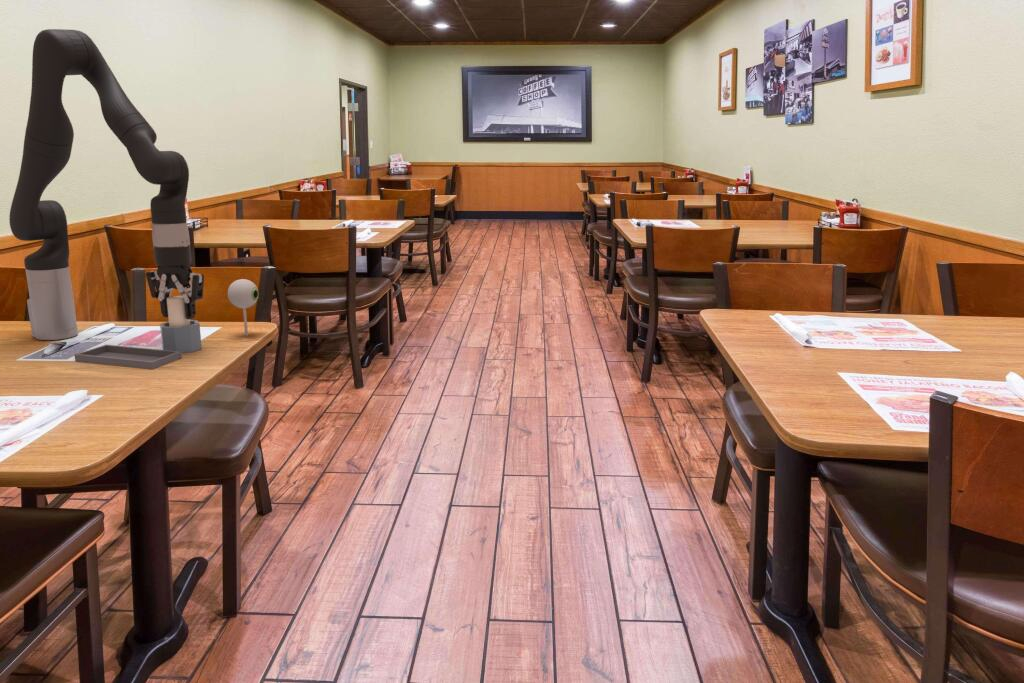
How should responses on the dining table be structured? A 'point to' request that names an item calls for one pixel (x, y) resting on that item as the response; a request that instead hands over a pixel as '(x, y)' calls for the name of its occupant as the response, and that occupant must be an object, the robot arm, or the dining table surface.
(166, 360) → the tray
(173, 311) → the peg
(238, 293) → the lollipop
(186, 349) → the grey octagonal collar
